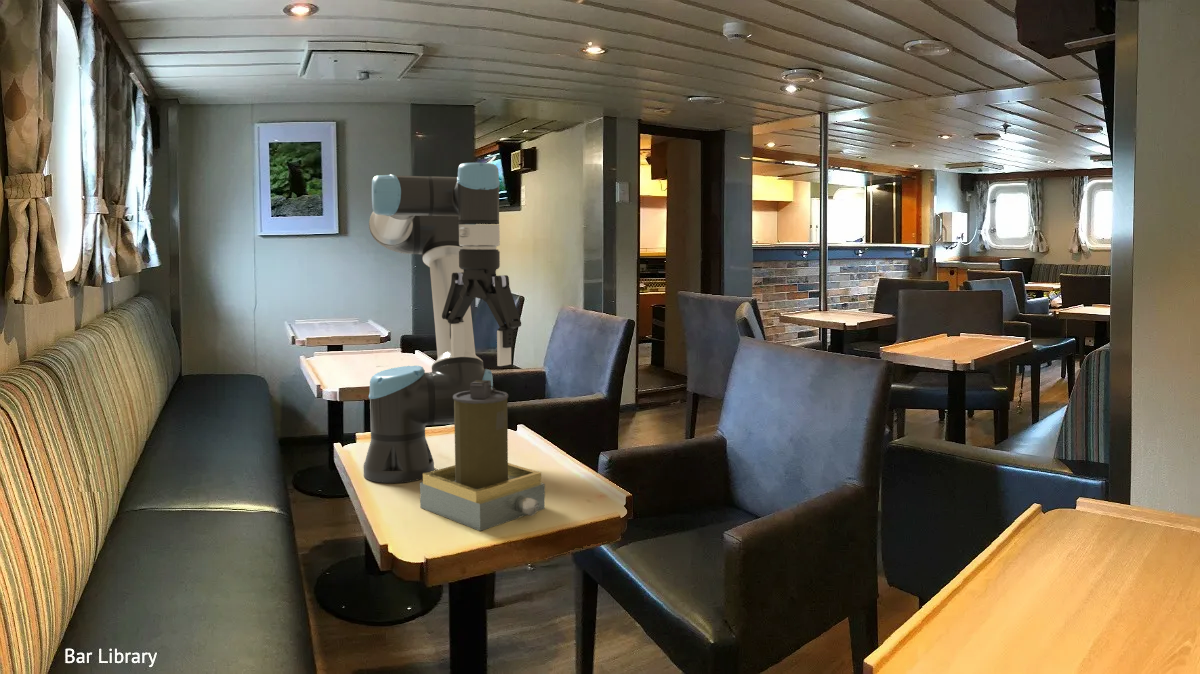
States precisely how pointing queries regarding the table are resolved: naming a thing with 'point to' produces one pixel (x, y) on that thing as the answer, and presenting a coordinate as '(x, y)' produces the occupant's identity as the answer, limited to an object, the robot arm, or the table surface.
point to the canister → (481, 435)
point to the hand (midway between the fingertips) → (480, 361)
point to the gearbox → (483, 497)
